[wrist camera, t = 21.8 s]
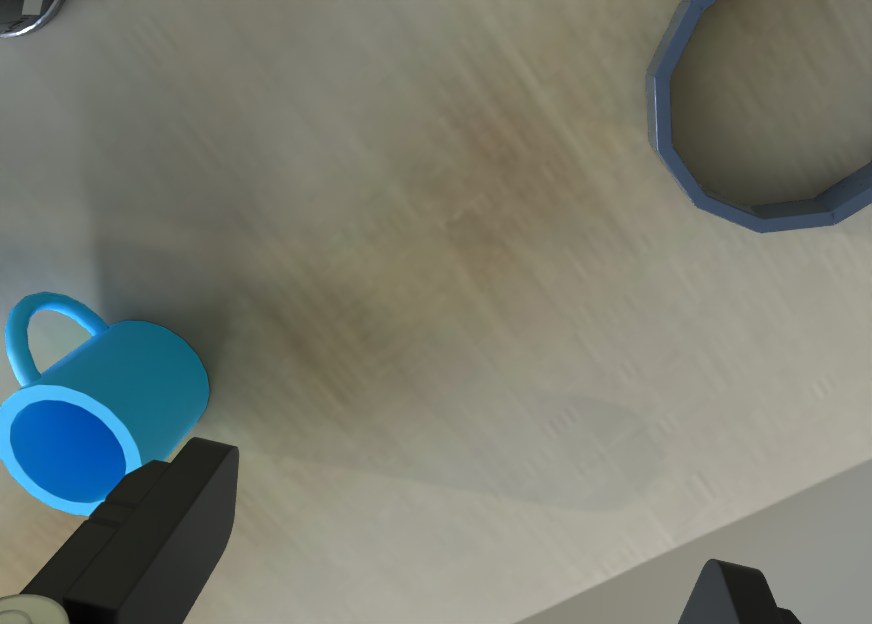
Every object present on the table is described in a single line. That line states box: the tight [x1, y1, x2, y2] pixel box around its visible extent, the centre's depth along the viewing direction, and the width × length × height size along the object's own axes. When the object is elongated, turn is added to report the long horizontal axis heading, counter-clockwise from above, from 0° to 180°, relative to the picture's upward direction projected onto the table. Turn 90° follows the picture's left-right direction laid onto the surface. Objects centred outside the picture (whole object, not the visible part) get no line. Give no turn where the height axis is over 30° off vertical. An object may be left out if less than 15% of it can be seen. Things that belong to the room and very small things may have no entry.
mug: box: [0, 292, 210, 516], centre depth 39 cm, size 12×8×8 cm
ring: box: [646, 0, 872, 233], centre depth 31 cm, size 12×12×2 cm
